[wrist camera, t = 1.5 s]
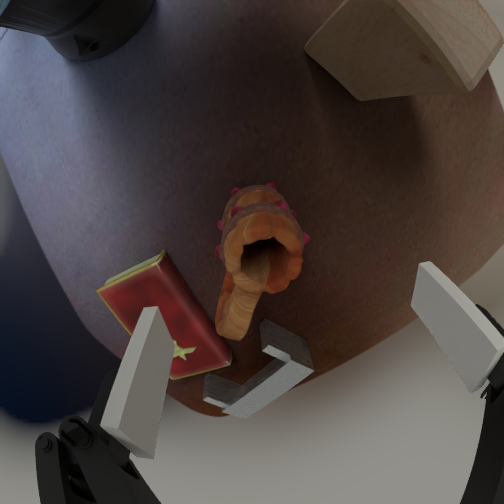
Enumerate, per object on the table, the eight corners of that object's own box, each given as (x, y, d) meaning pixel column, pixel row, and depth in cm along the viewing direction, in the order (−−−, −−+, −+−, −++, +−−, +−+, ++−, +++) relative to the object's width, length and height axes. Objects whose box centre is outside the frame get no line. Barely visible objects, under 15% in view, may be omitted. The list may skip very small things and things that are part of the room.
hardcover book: (165, 247, 36) (158, 261, 32) (232, 347, 45) (232, 366, 41) (105, 277, 38) (94, 291, 34) (175, 364, 47) (172, 381, 43)
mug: (240, 164, 32) (240, 193, 18) (300, 191, 33) (341, 237, 20) (199, 264, 37) (179, 341, 24) (253, 284, 39) (260, 364, 25)
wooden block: (357, 104, 28) (473, 99, 10) (298, 50, 25) (367, -26, 7) (398, 62, 25) (510, 42, 7) (345, 10, 22) (429, -57, 4)
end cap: (205, 375, 47) (202, 404, 41) (265, 317, 42) (269, 349, 35) (243, 390, 50) (244, 419, 44) (306, 340, 44) (314, 370, 38)
